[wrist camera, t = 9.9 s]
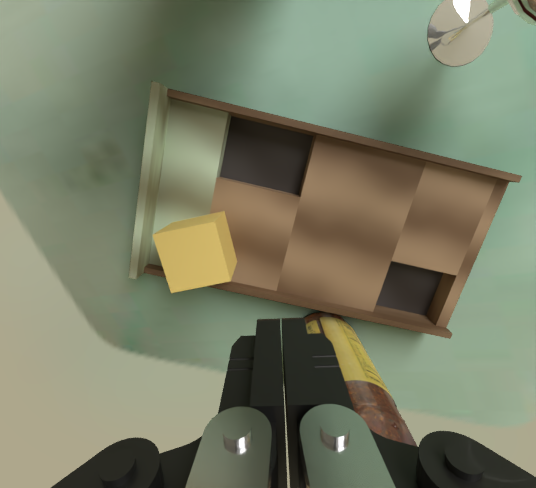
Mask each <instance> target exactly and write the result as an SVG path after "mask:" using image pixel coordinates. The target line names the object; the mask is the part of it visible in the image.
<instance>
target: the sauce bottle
mask: <svg viewBox="0 0 536 488" xmlns="http://www.w3.org/2000/svg"><path fill="white" fill-rule="evenodd" d="M304 319H305V323H306V328H307V333H308V334H313V333H323V334H324V335H325V336H326V337H327V338H328V339H329V340H330V341H331V342H332V344H333V347H334V350H335V353H336V357H337V359H338V362H339V366H340V368H341V371H342V374H343V377H344V380H345V383H346V386H347V389H348V392H349V395H350V398H351V401H352V404H353V407H354V410H355V412H356V413H357V414H358V415H359V416H360V417H361V418H363V420H364V421H365V422H366V424H367V426H368V427H369V429H371V430H372V431H374V432H375V433H377V434H379V435H381V436H383V437H385V438H388V439H391V440H394V441H398V442H402V443H406V444H410V445H413V446H417V445H416V443H415V441H414V439H413V437H412V435H411V433H410V432H409V430H408V427H407V425H406V424H405V421H404V420H403V419H402V417H401V415H400V414H399V412H398V410H397V407H396V404H395V402H394V400H393V398H392V396H391V394H390V393H389V391H388V389H387V388H386V386H385V384H384V382H383V381H382V379H381V377H380V376H379V374H378V372H377V370H376V369H375V367H374V365H373V363H372V362H371V360H370V358H369V356H368V355H367V353H366V351H365V349H364V347H363V345H362V344H361V342H360V340H359V338H358V337H357V335H356V333H355V331H354V330H353V328H352V327H351V326H350V325H349V324H347V322H346V321H345V320H343V319H342V318H341V317H340V316H339V315H337V314H334V313H329V312H327V313H326V312H320V313H313V314H311V315H308V316H307V317H305V318H304Z"/></svg>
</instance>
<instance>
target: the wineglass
mask: <svg viewBox="0 0 536 488" xmlns="http://www.w3.org/2000/svg"><path fill="white" fill-rule="evenodd" d="M507 4H510V5H511V7H512V9H513V11H514V12H515V14H517V15H518V16H519V17H521V18H522V19H523V20H524V21H526V22H527V23H528V24H531V25H535V26H536V0H495V1H494V2H492V3H491V4H490V5H488V4H487V2H486V1H485V0H445V1H443V2H442V3H441V4H440V5H439V6H438V8H437V9H436V11H435V12H434V14H433V15H432V18H431V21H430V24H429V27H428V42H429V46H430V50H431V51H432V53H433V55H434V56H435V58H436V59H438V60H439V61H440V62H442V63H443V64H446V65H450V66H462V65H465V64H467V63H469V62H472V61H473V60H475V59H476V58H477V57H478V56H479V55H480V54H482V52H483V51H484V49H485V48H486V46H487V45H488V43H489V41H490V38H491V35H492V32H493V16H492V13H494V12H495V11H497V10H499V9H500V8H502V7H504V6H505V5H507Z"/></svg>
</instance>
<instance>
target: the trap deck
mask: <svg viewBox="0 0 536 488" xmlns="http://www.w3.org/2000/svg"><path fill="white" fill-rule="evenodd" d="M521 177H522V176H520V175H516V174H512V173H508V172H504V171H500V170H496V169H491V168H487V167H483V166H479V165H475V164H471V163H467V162H463V161H459V160H455V159H451V158H447V157H443V156H439V155H435V154H431V153H427V152H423V151H419V150H415V149H411V148H407V147H403V146H398V145H394V144H390V143H386V142H382V141H378V140H374V139H370V138H366V137H362V136H358V135H354V134H350V133H346V132H342V131H338V130H334V129H330V128H326V127H322V126H318V125H314V124H310V123H306V122H301V121H297V120H293V119H289V118H285V117H281V116H277V115H273V114H269V113H265V112H261V111H257V110H253V109H249V108H245V107H241V106H237V105H233V104H229V103H225V102H221V101H217V100H213V99H208V98H204V97H200V96H196V95H192V94H188V93H184V92H180V91H176V90H172V89H168V88H166V87H165V86H164V85H162V84H161V83H157V82H153V81H151V90H150V98H149V107H148V115H147V124H146V132H145V141H144V150H143V158H142V167H141V175H140V184H139V193H138V201H137V210H136V218H135V227H134V235H133V244H132V253H131V261H130V270H129V278H132V279H137V278H138V277H139V276H141V275H142V274H143V273H147V274H152V275H157V276H161V277H166V276H165V273H164V269H163V266H162V263H161V260H160V257H159V254H158V251H157V248H156V245H155V242H154V239H153V234H154V233H156V232H158V231H159V230H161V229H162V228H164V227H166V226H167V225H169V224H170V223H172V222H176V221H181V220H185V219H190V218H195V217H199V216H204V215H209V214H213V213H218V212H222V211H225V215H226V219H227V223H228V227H229V231H230V235H231V239H232V243H233V247H234V251H235V255H236V259H237V264H236V267H235V270H234V273H233V276H232V279H231V281H230V282H225V283H220V284H215V285H210V286H208V287H212V288H217V289H222V290H226V291H231V292H236V293H240V294H245V295H250V296H254V297H259V298H264V299H268V300H273V301H278V302H282V303H287V304H292V305H296V306H301V307H306V308H310V309H315V310H320V311H324V312H329V313H334V314H338V315H343V316H347V317H352V318H357V319H361V320H366V321H371V322H375V323H380V324H385V325H389V326H394V327H399V328H403V329H408V330H413V331H417V332H422V333H427V334H431V335H436V336H441V337H445V338H451V336H452V333H451V332H450V331H449V330H448V329H447V328H446V327H447V324H448V322H449V320H450V317H451V315H452V313H453V311H454V308H455V306H456V304H457V301H458V299H459V297H460V294H461V292H462V290H463V287H464V285H465V283H466V281H467V278H468V276H469V274H470V271H471V269H472V267H473V264H474V262H475V260H476V257H477V255H478V253H479V250H480V248H481V246H482V244H483V241H484V239H485V237H486V234H487V232H488V230H489V227H490V225H491V223H492V220H493V218H494V216H495V213H496V211H497V209H498V207H499V204H500V202H501V200H502V197H503V195H504V193H505V190H506V188H507V186H508V183H509V182H520V179H521Z"/></svg>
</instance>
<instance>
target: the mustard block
mask: <svg viewBox="0 0 536 488" xmlns="http://www.w3.org/2000/svg"><path fill="white" fill-rule="evenodd" d="M153 239H154V242H155V245H156V248H157V251H158V254H159V257H160V260H161V263H162V266H163V269H164V273H165V276H166V279H167V282H168V285H169V288H170V291H171V293H175V292H180V291H185V290H190V289H195V288H200V287H205V286H210V285H215V284H220V283H225V282H230V281H231V279H232V276H233V273H234V270H235V267H236V264H237V259H236V255H235V251H234V247H233V243H232V239H231V235H230V231H229V227H228V223H227V219H226V215H225V211H222V212H218V213H213V214H209V215H204V216H199V217H195V218H190V219H185V220H181V221H176V222H172V223H170V224H169V225H167V226H166V227H164V228H162V229H161V230H159V231H158V232H156V233H154V234H153Z"/></svg>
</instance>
